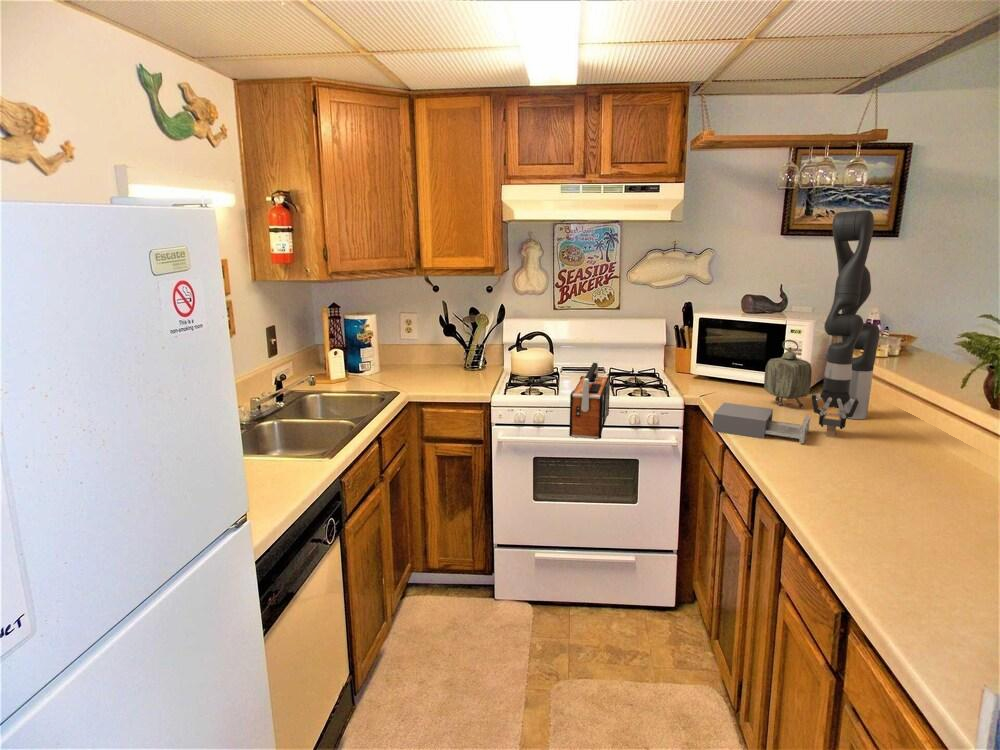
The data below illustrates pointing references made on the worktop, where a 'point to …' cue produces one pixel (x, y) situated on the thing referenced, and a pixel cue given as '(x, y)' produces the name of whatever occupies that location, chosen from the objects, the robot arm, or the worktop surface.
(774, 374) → the tabletop clock
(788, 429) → the tray
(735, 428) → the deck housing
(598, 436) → the radio cassette player
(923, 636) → the worktop surface
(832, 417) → the block
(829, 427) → the brown rectangular block
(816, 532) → the worktop surface
